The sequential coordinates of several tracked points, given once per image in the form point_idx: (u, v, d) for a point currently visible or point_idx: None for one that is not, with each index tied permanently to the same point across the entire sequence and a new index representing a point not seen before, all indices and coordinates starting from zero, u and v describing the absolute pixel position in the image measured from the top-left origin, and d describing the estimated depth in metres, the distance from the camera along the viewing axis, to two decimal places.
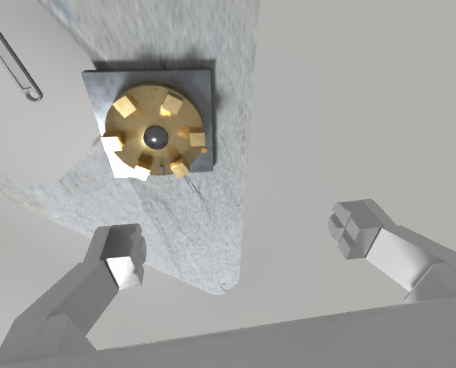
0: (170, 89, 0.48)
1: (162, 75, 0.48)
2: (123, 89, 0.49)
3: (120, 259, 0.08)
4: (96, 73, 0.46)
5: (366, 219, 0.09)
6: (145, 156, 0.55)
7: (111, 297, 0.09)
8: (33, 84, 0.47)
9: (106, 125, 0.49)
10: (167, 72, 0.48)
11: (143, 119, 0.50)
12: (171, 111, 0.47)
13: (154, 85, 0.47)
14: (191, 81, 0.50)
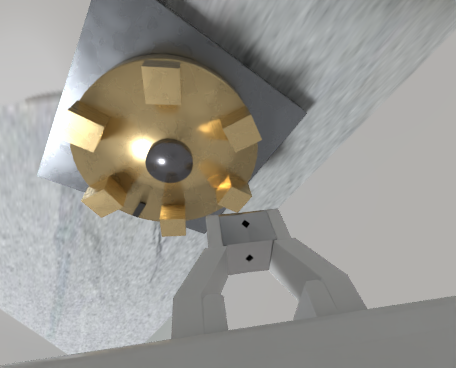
0: (244, 104, 0.26)
1: (242, 74, 0.26)
2: (163, 51, 0.24)
3: (240, 245, 0.09)
4: None
5: (262, 231, 0.09)
6: (127, 178, 0.28)
7: (224, 282, 0.09)
8: None
9: (91, 91, 0.22)
10: (252, 76, 0.27)
11: (170, 123, 0.25)
12: (233, 142, 0.25)
13: (225, 81, 0.25)
14: (273, 111, 0.29)
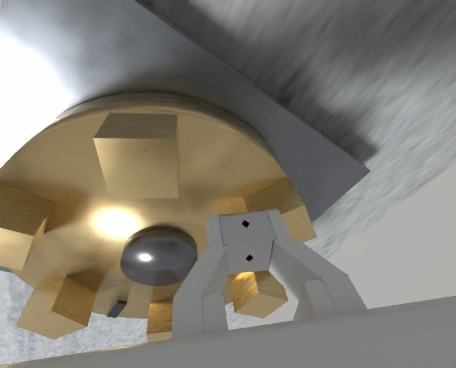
0: (283, 171, 0.16)
1: (279, 121, 0.16)
2: (149, 86, 0.14)
3: (240, 245, 0.09)
4: None
5: (262, 230, 0.09)
6: (94, 276, 0.18)
7: (224, 282, 0.09)
8: None
9: (12, 166, 0.12)
10: (296, 122, 0.16)
11: (160, 206, 0.15)
12: None
13: (254, 137, 0.15)
14: (321, 169, 0.19)
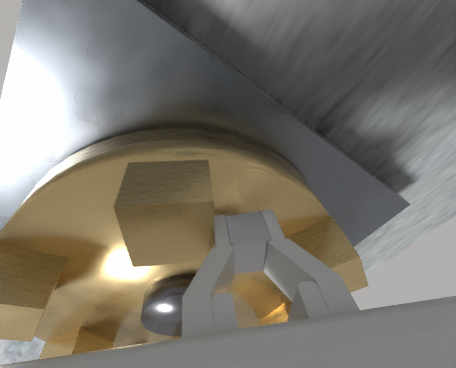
0: (323, 206, 0.14)
1: (321, 156, 0.14)
2: (181, 121, 0.12)
3: (247, 244, 0.09)
4: None
5: (256, 231, 0.09)
6: (111, 326, 0.16)
7: (231, 281, 0.09)
8: None
9: (16, 225, 0.10)
10: (338, 157, 0.15)
11: None
12: None
13: (291, 172, 0.13)
14: (358, 204, 0.17)
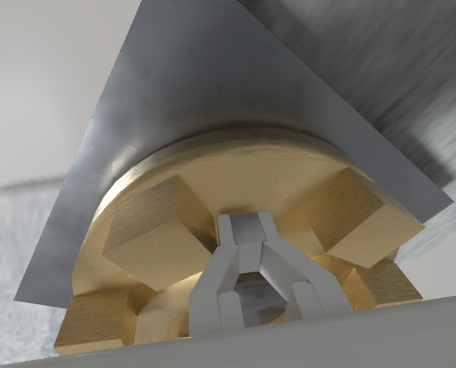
0: (339, 157, 0.12)
1: (381, 154, 0.15)
2: (259, 120, 0.13)
3: (252, 243, 0.09)
4: (229, 0, 0.09)
5: (252, 232, 0.09)
6: None
7: (236, 280, 0.09)
8: None
9: (78, 281, 0.13)
10: (397, 155, 0.15)
11: None
12: (358, 258, 0.11)
13: (280, 140, 0.11)
14: (406, 201, 0.18)
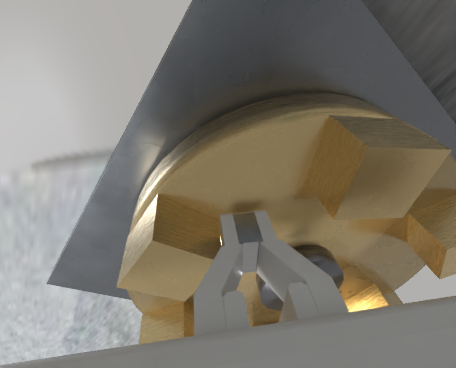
0: (324, 106, 0.10)
1: (437, 127, 0.15)
2: (323, 86, 0.12)
3: (256, 243, 0.09)
4: None
5: (248, 232, 0.09)
6: (271, 315, 0.19)
7: (239, 280, 0.09)
8: None
9: (139, 302, 0.15)
10: (453, 129, 0.15)
11: None
12: (380, 212, 0.09)
13: (249, 118, 0.11)
14: None
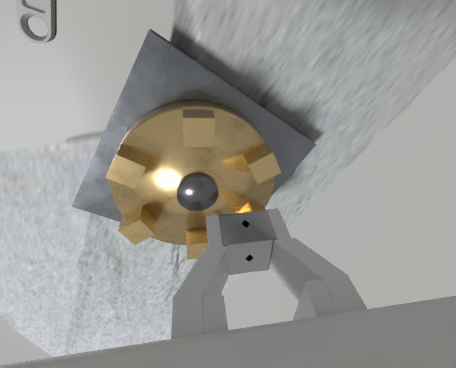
0: (186, 106, 0.26)
1: (260, 115, 0.30)
2: (194, 97, 0.28)
3: (240, 245, 0.09)
4: (173, 49, 0.25)
5: (262, 231, 0.09)
6: (195, 222, 0.34)
7: (224, 282, 0.09)
8: (52, 11, 0.23)
9: (119, 206, 0.30)
10: (269, 115, 0.30)
11: (167, 174, 0.29)
12: (202, 144, 0.25)
13: (157, 112, 0.26)
14: (286, 143, 0.33)
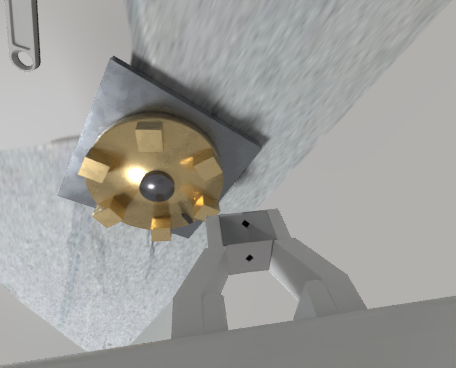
0: (142, 118, 0.32)
1: (210, 123, 0.36)
2: (152, 110, 0.34)
3: (240, 245, 0.09)
4: (130, 72, 0.31)
5: (262, 230, 0.09)
6: (159, 211, 0.41)
7: (224, 282, 0.09)
8: (36, 48, 0.29)
9: (94, 196, 0.37)
10: (217, 124, 0.36)
11: (131, 172, 0.36)
12: (153, 149, 0.31)
13: (120, 122, 0.33)
14: (235, 147, 0.39)
